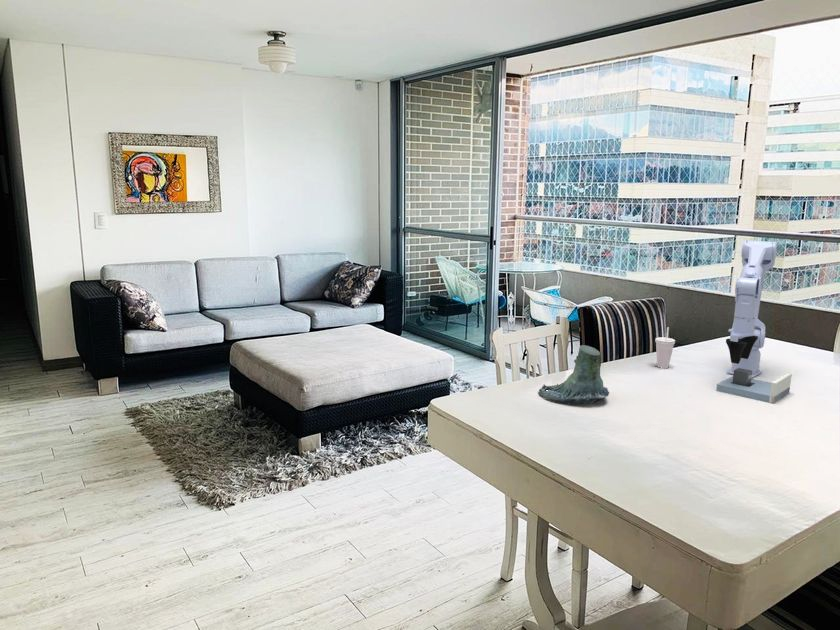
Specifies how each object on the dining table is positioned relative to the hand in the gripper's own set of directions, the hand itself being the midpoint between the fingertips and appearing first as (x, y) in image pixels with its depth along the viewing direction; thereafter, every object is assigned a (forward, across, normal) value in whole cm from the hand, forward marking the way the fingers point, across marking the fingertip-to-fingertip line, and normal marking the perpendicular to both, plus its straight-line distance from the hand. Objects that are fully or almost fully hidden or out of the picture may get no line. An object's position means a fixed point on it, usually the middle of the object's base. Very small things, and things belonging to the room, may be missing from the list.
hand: (739, 360), depth 195 cm
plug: (+9, +1, +2) cm, 9 cm away
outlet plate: (+8, +1, +5) cm, 10 cm away
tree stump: (+9, +44, -30) cm, 54 cm away
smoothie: (+9, -5, -26) cm, 28 cm away
